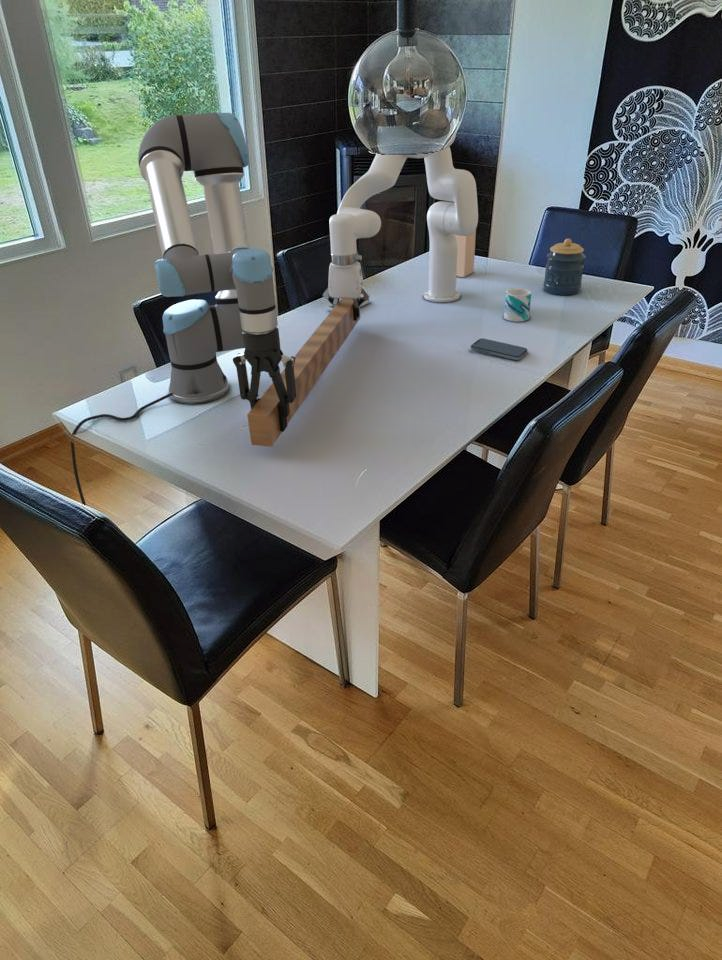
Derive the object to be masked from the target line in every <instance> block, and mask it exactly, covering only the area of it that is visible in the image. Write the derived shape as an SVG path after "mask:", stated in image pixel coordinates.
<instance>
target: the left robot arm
mask: <svg viewBox="0 0 722 960" xmlns="http://www.w3.org/2000/svg"><path fill="white" fill-rule="evenodd" d="M243 131H244V130H243V129H242V124H241V123H240V121H239V119H238V117H237V116H236V115H235V114H233V113H231V112H217V111H214V112H204V113H190V114H189V113H188V114H178V115H176V114H172V115H166V116H164V117H161V118H159V119H157V120H156V121H155V122H154V123H153V124H152V125H151V126H150V127H149V128H148V129H147V131H146V132H145V134H144V136H143V137H142V140H141V141H140V144H139V147H138V152H137V153H138V154H137V158H138V159H137V163H138V169H139V172H140V176H141V178H142V179H143V180H144V181H145V182H146V183H147V189H148V194H149V198H150V204H151V209H152V213H153V218H154V223H155V227H156V232H157V238H158V243H159V247H160V252H161V256H162V258H161V259H157V260H155V262H154V268H155V274H156V278H157V283H158V289H159V292H160V294H161V295H162V296H163V297H166V298H172V297H174V298H175V297H185V296H192V295H197V294H198V295H199V294H206V293H212V292H213V293H214V292H215V293H216V292H217V294H216V295H215V296H214V297H215V304H213V305H209V304H210V303H208V302H207V300H205V299H201V298H200V299H196V298H195V299H187V300H184V301H180V302H177V303H176V304H175V303H174V304H172V305H171V306H169V307H168V308H167V309H165V310H164V312H163V314H162V325H163V334H165V340H166V345H167V350H168V351H167V352H168V356H169V361H170V367H171V369H170V370H171V371H170V377H169V386H168V394H166V395H163V396H161V397H160V398H157V399H155V400H153V401H151V402H149V403H146V404H145V405H143V406H141V407H140V408H138V409H137V410H136V412H135V413H133V415H131V416H127V417H120V416H117V415H112V414H108V413H102V414H96V415H92V416H89V417H86V418H83V419H82V420H81V421H80V422H78V424H77V425H76V426H75V428H74V429H73V431H72V433H71V436H75V435H76V434H77V433H78V430H79V429H80V428H81V427H82V426H83V425H84V424H85V423H86V422H88V421H93V420H96V419H100V418H101V419H102V418H110V419H113V420H117V421H122V422H123V421H124V422H125V421H126V422H127V421H130V420H133V419H135V418H137V416H139V414H140V413H141V412H142V411H144V410H145V409H147V408H149V407H151V406H154V405H156V404H157V403H160V402H161V401H163V400H166V399H168V398H171V400H173V401H175V402H177V403H180V404H188V405H189V404H190V405H196V404H197V405H198V404H204V403H208V402H212V401H214V400H217V399H219V398H221V397H223V396H224V395H225V394H227V392H228V391H229V383H228V382H229V380H228V377H227V375H225V373H224V372H223V370H222V368H221V366H220V363H219V362H218V358H217V353H221V352H227V351H233V350H234V351H235V350H240V349H241V350H242V349H244V351H243V353H236V355H235V356H234V357H233V358H232V362H233V364H234V366H235V368H236V375H237V380H238V388H239V395H240V399H241V400H243V401H245V400H246V401H248V402H249V404H250V410H251V409H252V408H253V407H254V406H255V404H256V403H257V402H258V401H259V399H260V398H261V397H259V390H260V383H261V382H260V380H261V373H262V372H265V373H268V376H269V377H270V378H271V381H272V383H273V384H274V387H275V389H276V392H277V395H278V397H279V400H280V402H279V404H278V405H277V406H278V414H279V423H280V431H281V432H282V433H283V432H285V431H286V429H287V428H288V424H287V417H288V415H289V413H290V409H289V403H292V402H293V401H294V400H295V398H296V396H297V395H296V385H295V375H294V363H295V357H294V356H295V355H294V356H293V355H292V356H288V355H285V354H284V352H283V350H282V348H281V339H280V330H279V328H278V326H279V325H278V324H279V322H278V313H277V306H276V296H275V287H274V277H273V276H274V275H273V272H274V269H273V266H272V260H271V255H270V253H269V252H268V251H267V250H264V249H261V248H250V247H249V241H248V234H247V229H246V228H247V227H246V221H245V215H244V208H243V202H242V195H241V188H240V182H241V180H242V179H243V177H244V176H245V172H244V171H245V170H244V168H246V167H248V166H249V163H250V159H249V154H248V153H249V152H248V145H247V142H246V139H245V135H244V132H243ZM184 172H193V174H194V180H195V181H196V182H198V184H200V185H201V186H202V189H203V195H204V201H205V202H204V203H205V207H206V214H207V219H208V225H209V226H208V227H209V230H210V236H211V243H212V250H213V253H210V254H200V253H199V249H198V245H197V240H196V237H195V231H194V227H193V222H192V218H191V213H190V210H189V206H188V201H187V196H186V192H185V188H184V183H183V180H182V178H183V175H184ZM246 362H247V363H248V364H249V365H250V366H251V371H250V375H251V377H250V384H249V378H248V376H249V375H248V370H247V369H248V368H247V364H246ZM281 362H282V365H283V368H284V369H285V378H286V387H287V391H286V388H285V385H284V382H283V379H282V377H281V368H280V365H279V364H280V363H281ZM70 450H71V451H70V452H71V460H72V461H71V462H72V467H73V473H74V478H75V483H76V486H77V490H78V494H79V497H80V500H81V504H82V505H83V504H84V505H86V506H87V503H86V500H85V497H84V494H83V490H82V486H81V482H80V476H79V473H78V472H79V471H78V469H77V468H78V467H77V460H76V459H77V458H76V451H75V450H76V449H75V443H74V442H72V441H70Z"/></svg>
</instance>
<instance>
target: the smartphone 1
mask: <svg viewBox="0 0 722 960" xmlns="http://www.w3.org/2000/svg"><path fill="white" fill-rule="evenodd" d="M362 297H363V296H360V299H361V298H362ZM368 304H370V297H369V298H368V299H367V300H365V301H364V302H363V303H362V304H361V305H360V308H362V307H364V306H366V305H368ZM333 308H334V307H333V305H332V304H331V305H328V307H327V311H328V312H329V313H330V312H331V311H332V310H333Z"/></svg>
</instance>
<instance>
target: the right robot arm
mask: <svg viewBox="0 0 722 960" xmlns="http://www.w3.org/2000/svg"><path fill="white" fill-rule="evenodd" d="M456 137H457V133H456V134H455V135H454V137H453V138H452V140H451V141H450V143H449V144H448V145H447V146H446V147H445V148H444V149H443V150H441V151H438V152H434V153H428V154H417V155H381V154H377V153H376V154H375V156H374V158H373V160H372V163H371V165H370V167H369V169H368V170H367V171H366V172H365V174H362V176H360V177H359V178H358V179H357V180H356V181H355V182H354V183H353V184H351V186H350V187H349V188H348V189H347V190H346V192H345V194H344V195H343V197H342V200H341V201H340V203H339V206H338V209H337V211H336V214H332V215H331V216H330V218H329V221H328V222H329V223H328V224H329V225H328V226H329V240H330V241H329V242H330V255H331V262H330V263H329V267H328V279H327V280H328V281H327V282H328V285H327V288H326V289H325V290H324V292H323V293H322V297H323V298H324V299H326V300H327V301H328V302H329V303H330V304H331V305H333V307H335V306H336V305H337V304H338V302H339V301H340V300H341V299H342V298H352V299H353V303H354V308H353V316H354V321H356V320H357V319H358V317H359V316H360V317H361V310H360V311H359V306H360V305H361V304H362V303H363V302H364V301H365V300H367V299H368V298H369V299H370V297H371V295H370V293H369V292H368V291H367V289H366V288H365V286H364V277H363V270H362V266H361V262H360V261H362V259H363V256H362V254H361V255H360V254H358V251H357V250H358V248H357V240H359V239H369V238H373V237H374V236H376V235H377V234H378V233H379V232H380V230H381V227H382V220H381V217H380V215H379V214H378V213H376V212H375V211H374V210H370V209H363V208H361V207H362V206H363V205H364V204H365V202H366V201H367V200H369V199H370V198H371V197H373V196H375V195H377V194H379V193H382V192H385V191H387V190H389V189H391V188H393V187H394V186H395V184H396V183H397V181H398V178H399V176H400V173H401V172H402V169H403V167H404V165H405V162H406V160H407V159H408V158H409V159H423V160H424V166H425V174H426V176H425V177H426V182H427V190H428V194H429V196H430V197H431V198H433V199H435V200H439V201H437V202H434V203H433V204H432V205H430V206H429V208H428V210H427V213H426V223H427V229H428V236H429V241H428V242H429V253H428V255H429V256H428V290H427V291H425V292H424V293H423V296H424V300H427V301H429V302H433V303H451V302H455V301H457V300H459V299H460V297H461V293H460V292H459V291H458V290H457V276H456V272H457V250H458V246H457V240H456V237H455V235H460V236H469V235H471V234H472V233H473V232H474V231H475V230H476V231H477V227H478V223H479V205H478V192H477V183H476V179H475V177H474V175H473V174H472V172H470V171H469V170H466V169H460V168H455V167H454V164H453V158H452V150H451V147H450V146H452V144H453V143H454V142H455V140H456ZM359 297H362V298H361V299H360V300H359Z"/></svg>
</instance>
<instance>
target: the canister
mask: <svg viewBox="0 0 722 960" xmlns="http://www.w3.org/2000/svg"><path fill="white" fill-rule="evenodd" d="M549 251H550V252H548V253H547V254H546V258H547V262H546V264H545V272H544V273H545V274H544V281H543V290H544V291H545V292H546V293H549V294H552V295H560V296H568V295H569V296H570V295H575V294H577V293H579V292H581V289H582V281H583V273H584V268H585V265H584V260H585V259H586V255H585V254H584V252H585V249H584V248H583V247H582V246H581V245H580V244H578V243H575V242H573V241H572V239H571V238H565V239H564V241H563V242H559V243H555V244H554V245H552V246H551V247H550V248H549Z"/></svg>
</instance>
